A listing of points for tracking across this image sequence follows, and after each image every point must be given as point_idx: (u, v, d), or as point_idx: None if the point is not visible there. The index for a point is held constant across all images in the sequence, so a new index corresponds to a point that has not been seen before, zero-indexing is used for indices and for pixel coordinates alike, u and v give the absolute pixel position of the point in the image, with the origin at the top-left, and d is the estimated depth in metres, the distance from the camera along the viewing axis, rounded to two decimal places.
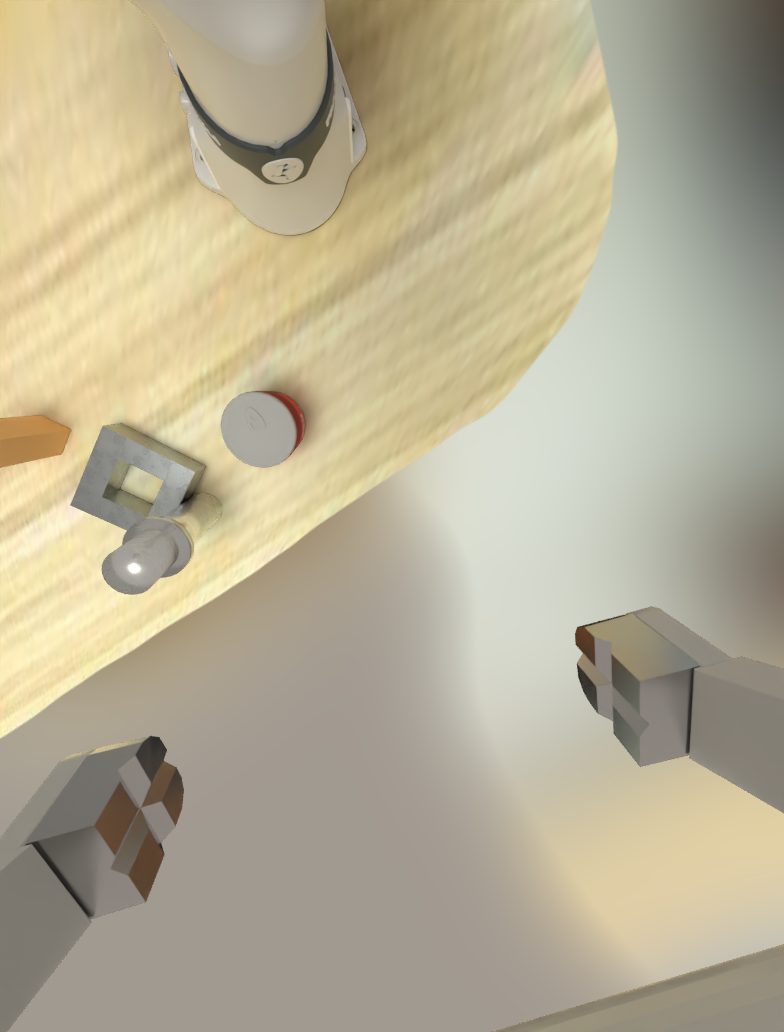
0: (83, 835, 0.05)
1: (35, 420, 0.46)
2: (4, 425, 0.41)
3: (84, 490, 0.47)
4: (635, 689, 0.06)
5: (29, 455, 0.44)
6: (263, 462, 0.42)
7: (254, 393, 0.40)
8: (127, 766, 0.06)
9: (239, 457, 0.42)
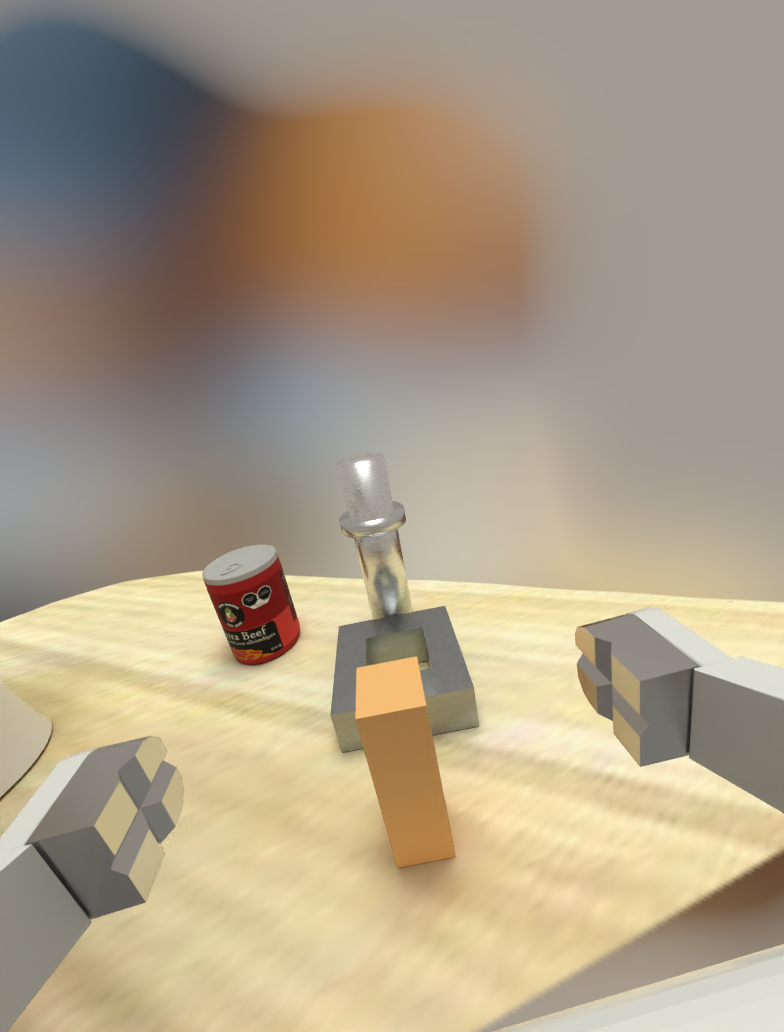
0: (83, 835, 0.05)
1: None
2: None
3: (438, 685, 0.30)
4: (635, 689, 0.06)
5: None
6: (269, 549, 0.44)
7: (203, 575, 0.40)
8: (127, 766, 0.06)
9: (270, 556, 0.42)
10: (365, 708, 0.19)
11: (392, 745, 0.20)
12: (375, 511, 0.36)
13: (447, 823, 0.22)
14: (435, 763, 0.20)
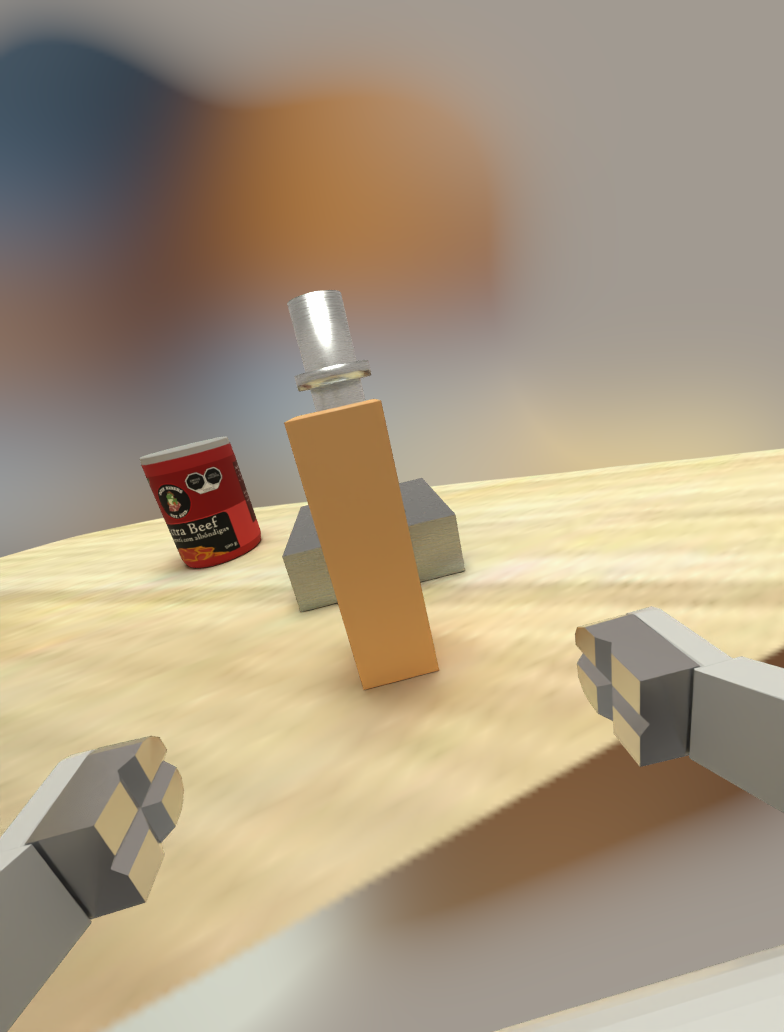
0: (83, 835, 0.05)
1: None
2: None
3: (413, 520, 0.25)
4: (635, 689, 0.06)
5: None
6: (220, 438, 0.39)
7: None
8: (127, 766, 0.06)
9: (220, 438, 0.36)
10: (299, 418, 0.14)
11: (340, 472, 0.14)
12: (334, 355, 0.31)
13: (424, 612, 0.17)
14: (401, 506, 0.15)
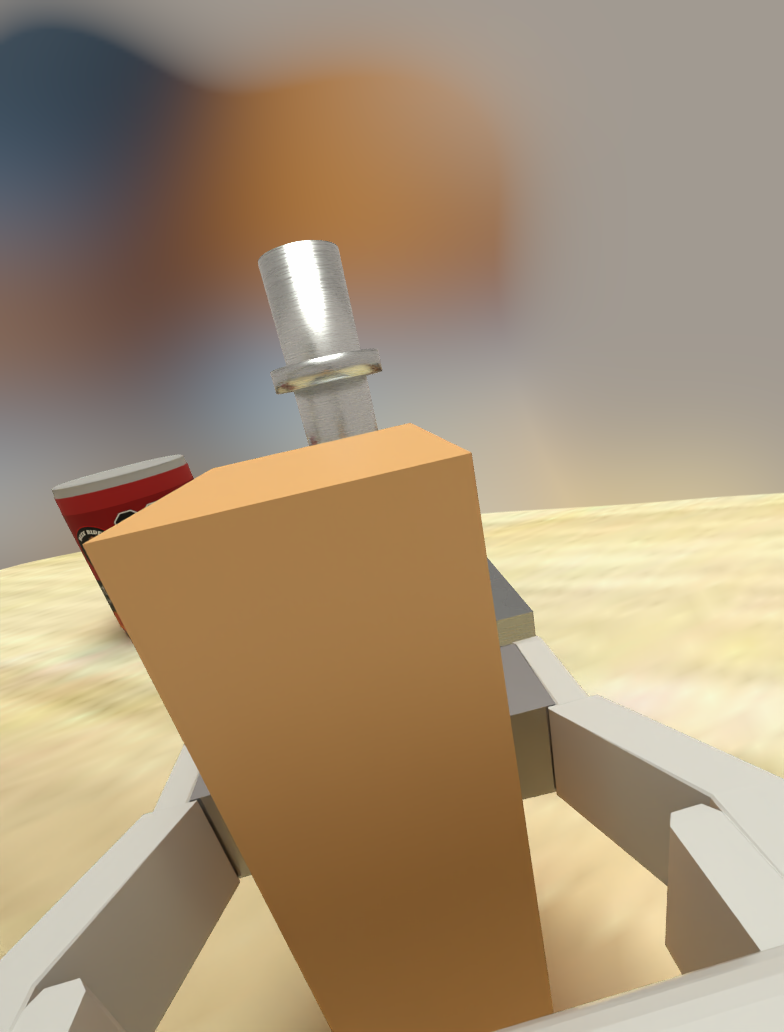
0: None
1: None
2: None
3: None
4: None
5: None
6: (174, 457, 0.28)
7: None
8: None
9: (170, 459, 0.26)
10: (163, 513, 0.04)
11: (314, 696, 0.04)
12: (327, 340, 0.21)
13: (543, 985, 0.06)
14: (509, 772, 0.05)
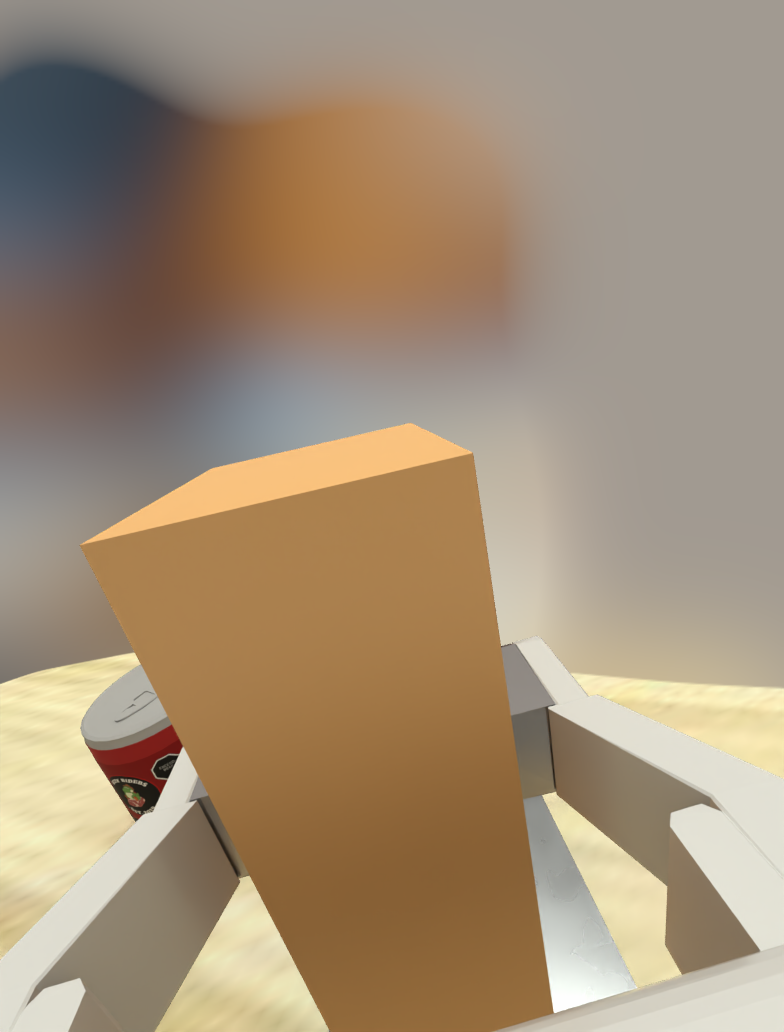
0: None
1: None
2: None
3: None
4: None
5: None
6: None
7: (83, 724, 0.22)
8: None
9: None
10: (162, 513, 0.04)
11: (314, 698, 0.04)
12: None
13: (544, 988, 0.06)
14: (511, 775, 0.05)
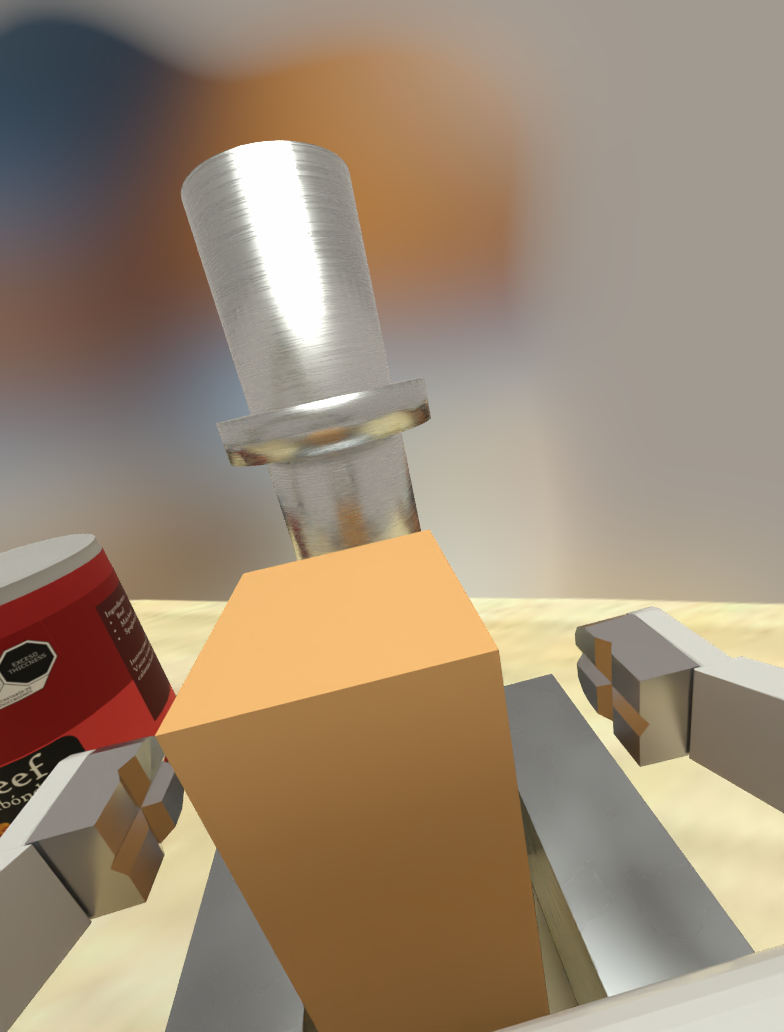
0: (83, 835, 0.05)
1: None
2: None
3: None
4: (635, 689, 0.06)
5: None
6: (81, 542, 0.18)
7: None
8: (127, 766, 0.06)
9: (60, 558, 0.15)
10: (220, 685, 0.04)
11: (352, 839, 0.05)
12: (328, 363, 0.10)
13: None
14: (524, 890, 0.05)
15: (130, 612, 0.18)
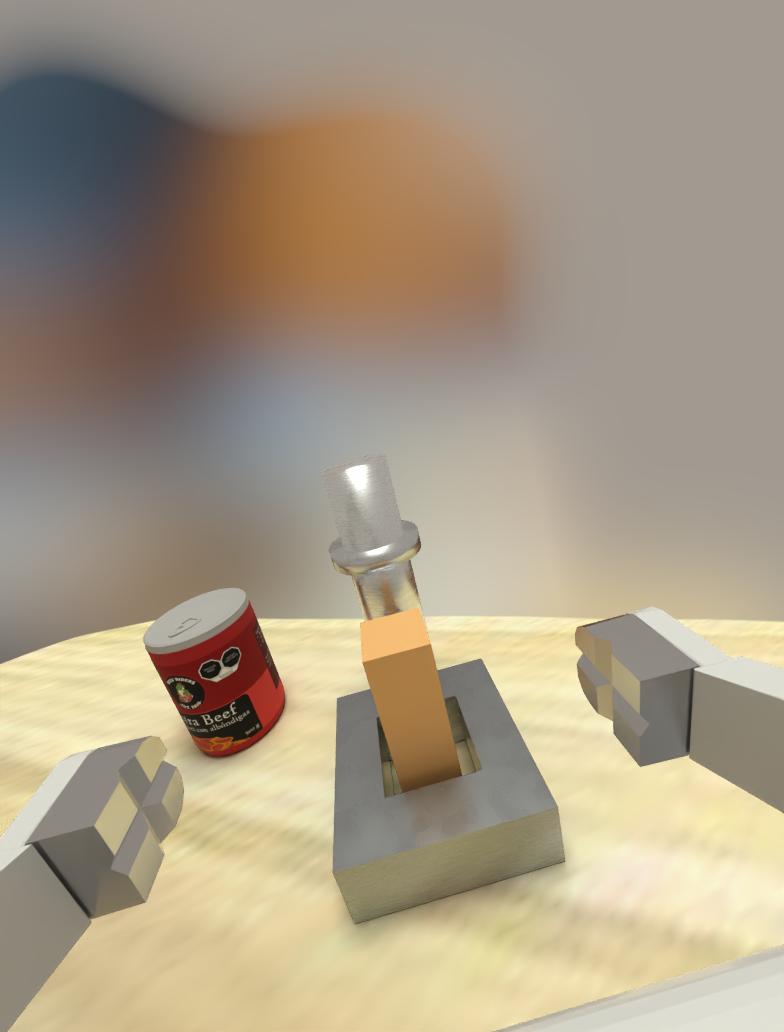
0: (83, 835, 0.05)
1: None
2: None
3: (500, 804, 0.19)
4: (635, 689, 0.06)
5: None
6: (237, 594, 0.33)
7: (144, 638, 0.29)
8: (127, 766, 0.06)
9: (238, 605, 0.31)
10: (371, 653, 0.20)
11: (400, 688, 0.20)
12: (379, 535, 0.25)
13: (459, 772, 0.22)
14: (443, 706, 0.21)
15: (261, 631, 0.34)
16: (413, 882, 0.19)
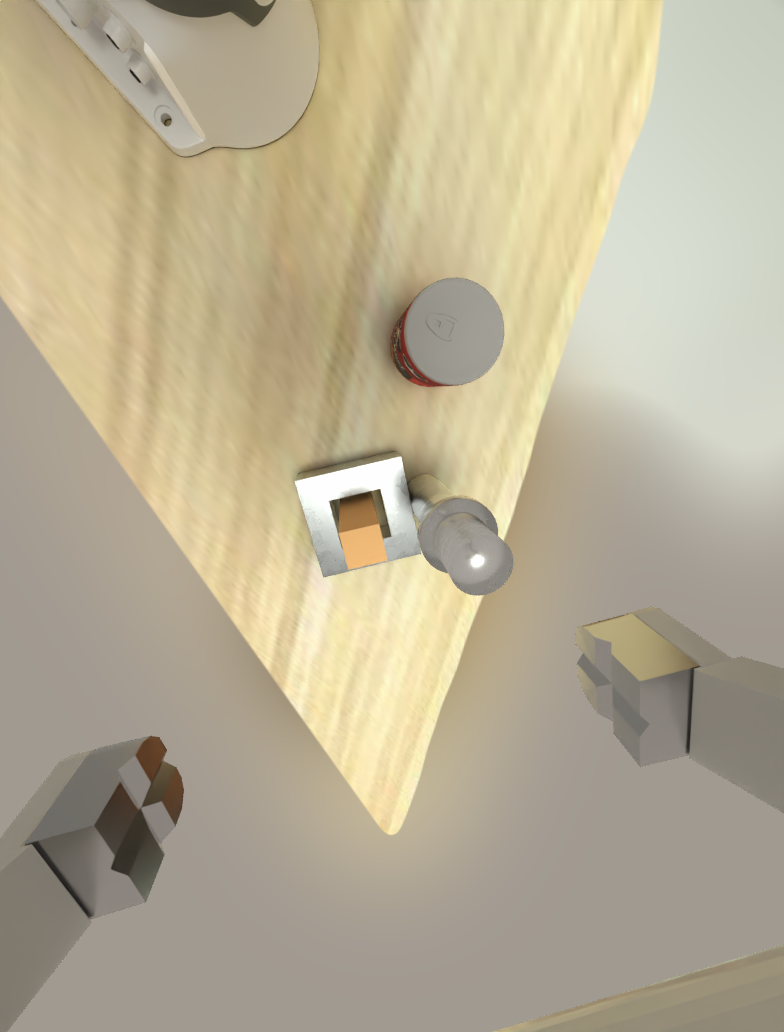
0: (83, 835, 0.05)
1: (348, 500, 0.42)
2: (352, 512, 0.37)
3: (324, 554, 0.42)
4: (635, 689, 0.06)
5: None
6: (483, 366, 0.31)
7: (424, 291, 0.29)
8: (127, 766, 0.06)
9: (456, 381, 0.31)
10: (345, 537, 0.33)
11: None
12: (437, 553, 0.31)
13: None
14: None
15: None
16: None
